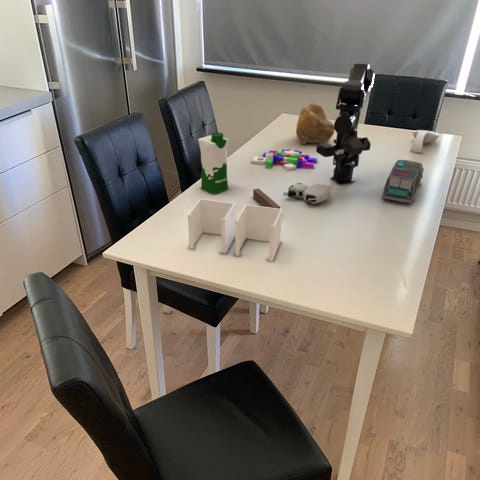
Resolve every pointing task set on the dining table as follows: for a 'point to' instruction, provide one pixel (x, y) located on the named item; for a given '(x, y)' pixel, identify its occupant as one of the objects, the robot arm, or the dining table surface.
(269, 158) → the building block set
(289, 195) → the robot toy
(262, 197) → the walnut kerb
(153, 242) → the dining table surface
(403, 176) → the toy van
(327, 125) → the rough brown rock
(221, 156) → the milk carton
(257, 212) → the storage bins
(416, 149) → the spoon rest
